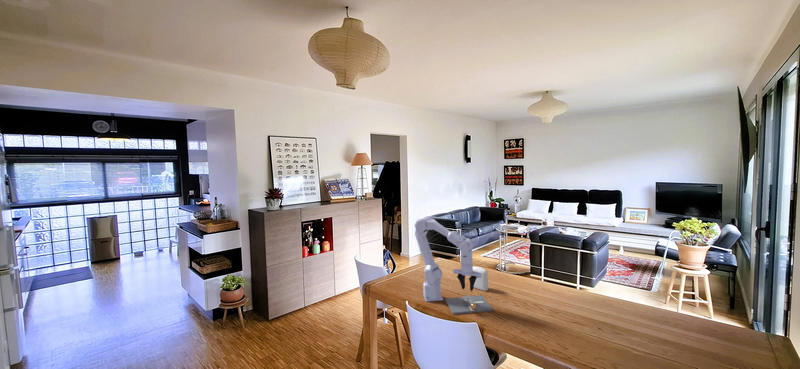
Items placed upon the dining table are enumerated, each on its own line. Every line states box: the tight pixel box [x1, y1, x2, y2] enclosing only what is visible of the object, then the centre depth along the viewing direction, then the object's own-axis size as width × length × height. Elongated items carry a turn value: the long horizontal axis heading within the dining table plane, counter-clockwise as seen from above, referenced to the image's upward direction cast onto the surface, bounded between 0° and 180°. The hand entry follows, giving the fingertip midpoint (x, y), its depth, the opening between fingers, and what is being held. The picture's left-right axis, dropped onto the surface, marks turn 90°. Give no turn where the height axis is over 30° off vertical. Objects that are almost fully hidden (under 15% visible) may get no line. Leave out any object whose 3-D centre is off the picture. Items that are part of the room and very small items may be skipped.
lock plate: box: [444, 295, 494, 315], centre depth 161 cm, size 20×16×2 cm
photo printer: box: [473, 266, 489, 292], centre depth 181 cm, size 10×4×12 cm, turn 40°
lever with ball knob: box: [462, 294, 476, 310], centre depth 157 cm, size 13×5×2 cm, turn 5°
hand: (467, 289), depth 160 cm, fingers open, 4 cm apart
